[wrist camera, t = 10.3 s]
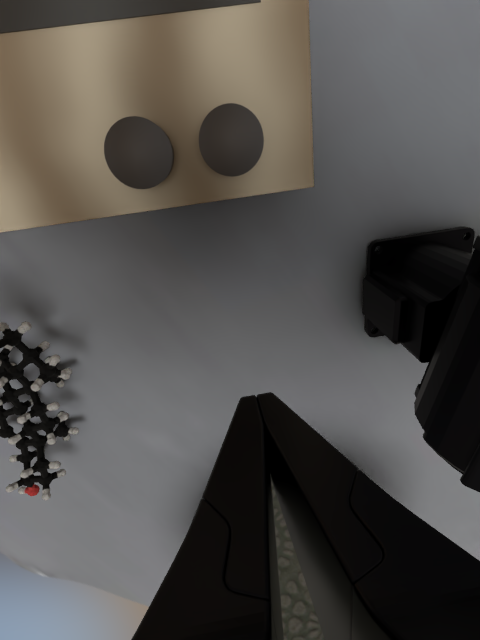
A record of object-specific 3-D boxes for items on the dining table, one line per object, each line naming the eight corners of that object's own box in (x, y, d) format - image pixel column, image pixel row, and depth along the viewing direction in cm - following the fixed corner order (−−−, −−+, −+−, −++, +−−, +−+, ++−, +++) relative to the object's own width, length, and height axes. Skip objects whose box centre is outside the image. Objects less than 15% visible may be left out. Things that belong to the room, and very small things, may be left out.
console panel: (283, -294, 12) (312, -447, 9) (303, 184, 19) (323, 189, 16) (-442, -234, 11) (-687, -384, 8) (-145, 248, 18) (-215, 268, 15)
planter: (179, 448, 27) (161, 762, 13) (390, 429, 28) (574, 690, 14) (194, 578, 34) (192, 868, 20) (361, 557, 36) (465, 812, 22)
